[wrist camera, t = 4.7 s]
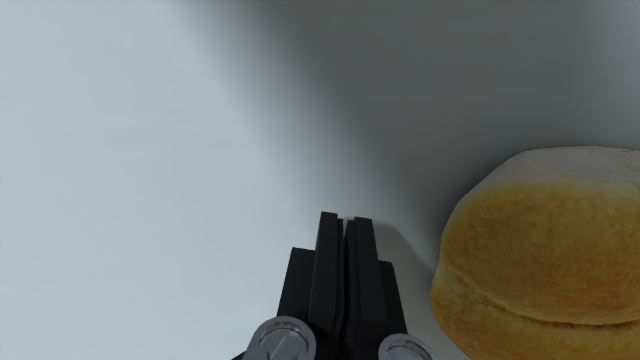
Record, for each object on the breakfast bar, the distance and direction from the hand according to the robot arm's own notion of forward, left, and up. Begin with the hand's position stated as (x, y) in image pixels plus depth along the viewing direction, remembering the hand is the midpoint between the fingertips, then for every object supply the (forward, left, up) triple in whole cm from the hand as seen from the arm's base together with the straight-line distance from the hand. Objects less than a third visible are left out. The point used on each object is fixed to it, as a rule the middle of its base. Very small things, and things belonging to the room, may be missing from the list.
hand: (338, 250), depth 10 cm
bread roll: (0, +8, -2) cm, 8 cm away
